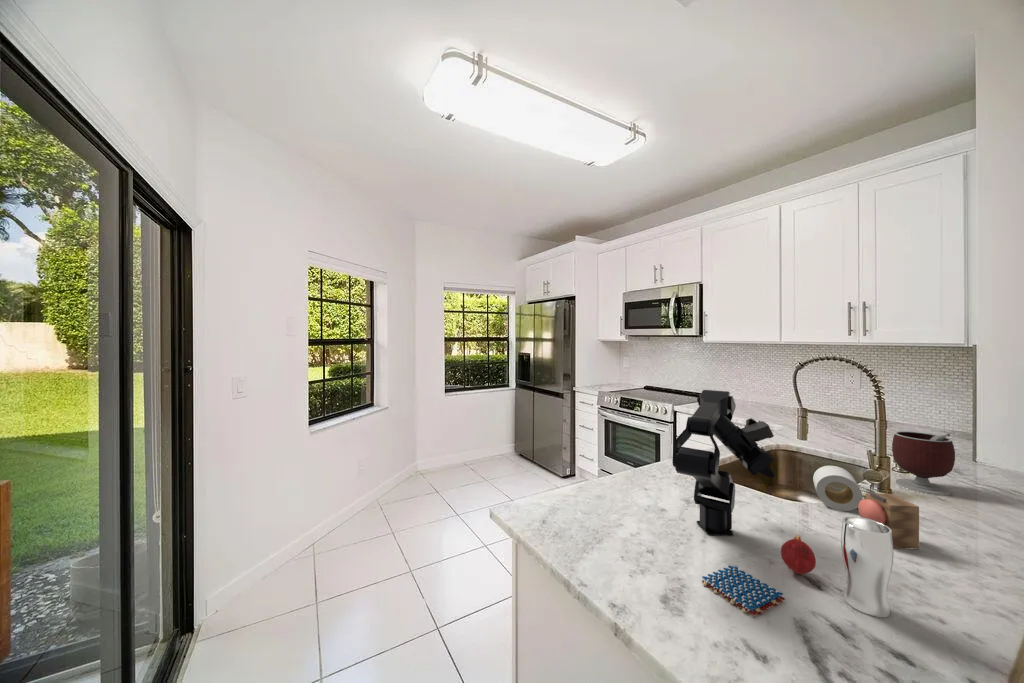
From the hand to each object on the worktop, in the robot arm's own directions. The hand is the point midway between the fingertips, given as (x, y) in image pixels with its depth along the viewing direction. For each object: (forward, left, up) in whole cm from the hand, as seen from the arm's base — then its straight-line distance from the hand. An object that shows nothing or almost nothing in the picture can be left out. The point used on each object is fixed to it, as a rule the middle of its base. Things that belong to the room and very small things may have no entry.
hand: (773, 476), depth 96 cm
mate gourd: (+67, +27, -14) cm, 73 cm away
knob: (+24, -5, -10) cm, 26 cm away
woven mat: (-22, -25, -14) cm, 36 cm away
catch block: (+25, -5, -14) cm, 29 cm away
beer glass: (-2, -28, -14) cm, 31 cm away
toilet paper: (+29, +15, -14) cm, 35 cm away
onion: (-7, -19, -14) cm, 24 cm away
